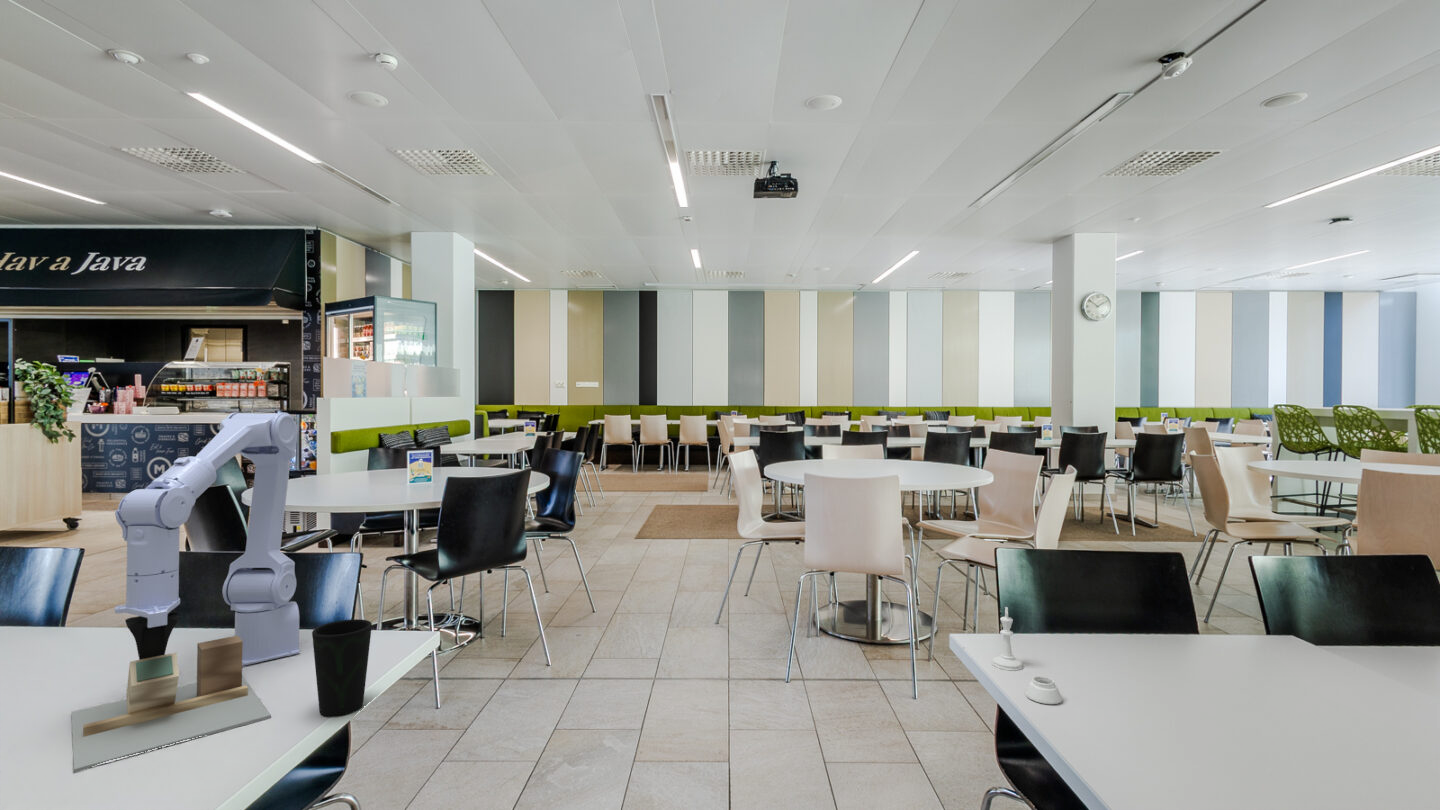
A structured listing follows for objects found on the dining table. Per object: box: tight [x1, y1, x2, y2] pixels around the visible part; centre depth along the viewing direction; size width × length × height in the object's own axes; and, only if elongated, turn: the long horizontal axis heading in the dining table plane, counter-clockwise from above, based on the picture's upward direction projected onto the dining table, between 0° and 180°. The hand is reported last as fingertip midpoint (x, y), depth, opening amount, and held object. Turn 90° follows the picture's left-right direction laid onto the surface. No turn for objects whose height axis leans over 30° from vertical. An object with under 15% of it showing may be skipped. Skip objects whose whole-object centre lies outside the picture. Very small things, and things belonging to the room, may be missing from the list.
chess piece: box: [991, 606, 1024, 672], centre depth 112 cm, size 5×5×10 cm
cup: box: [311, 618, 373, 718], centre depth 96 cm, size 8×8×12 cm
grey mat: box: [70, 674, 272, 773], centre depth 93 cm, size 20×22×1 cm
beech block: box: [125, 651, 180, 714], centre depth 92 cm, size 5×4×8 cm
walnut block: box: [196, 635, 243, 697], centre depth 99 cm, size 5×4×8 cm
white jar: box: [1024, 675, 1063, 705], centre depth 99 cm, size 5×3×5 cm
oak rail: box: [83, 685, 248, 737], centre depth 93 cm, size 18×1×1 cm, turn 136°
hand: (151, 666), depth 93 cm, fingers closed
